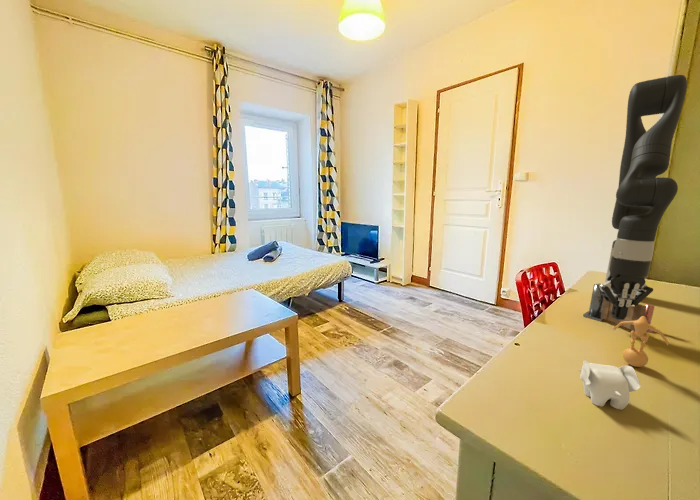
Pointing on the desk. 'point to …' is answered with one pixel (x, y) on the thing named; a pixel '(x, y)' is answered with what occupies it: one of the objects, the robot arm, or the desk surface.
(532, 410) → the desk surface
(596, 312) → the gate posts
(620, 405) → the elephant figurine
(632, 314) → the gate
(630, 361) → the figurine
